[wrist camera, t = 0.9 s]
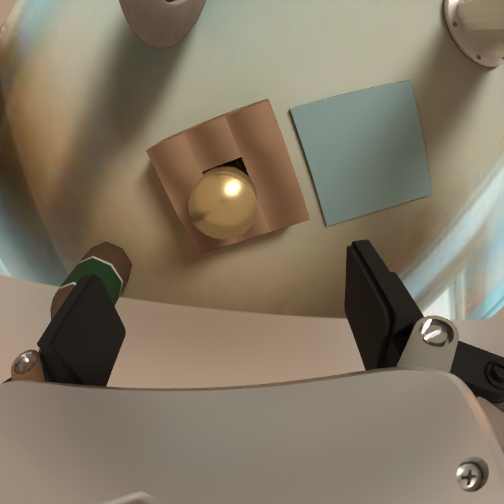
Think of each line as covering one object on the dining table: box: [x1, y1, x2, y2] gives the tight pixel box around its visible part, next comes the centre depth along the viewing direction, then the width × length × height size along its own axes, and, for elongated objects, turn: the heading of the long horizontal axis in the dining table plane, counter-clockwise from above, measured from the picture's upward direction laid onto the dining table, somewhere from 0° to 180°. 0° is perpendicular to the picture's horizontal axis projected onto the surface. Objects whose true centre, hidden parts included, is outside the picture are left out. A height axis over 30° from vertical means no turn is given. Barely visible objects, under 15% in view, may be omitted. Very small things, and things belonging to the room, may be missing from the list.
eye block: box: [146, 99, 310, 255], centre depth 35 cm, size 14×14×5 cm
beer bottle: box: [38, 242, 132, 354], centre depth 34 cm, size 8×8×24 cm
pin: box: [188, 160, 257, 239], centre depth 32 cm, size 6×6×12 cm
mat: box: [290, 80, 431, 226], centre depth 35 cm, size 16×16×1 cm
